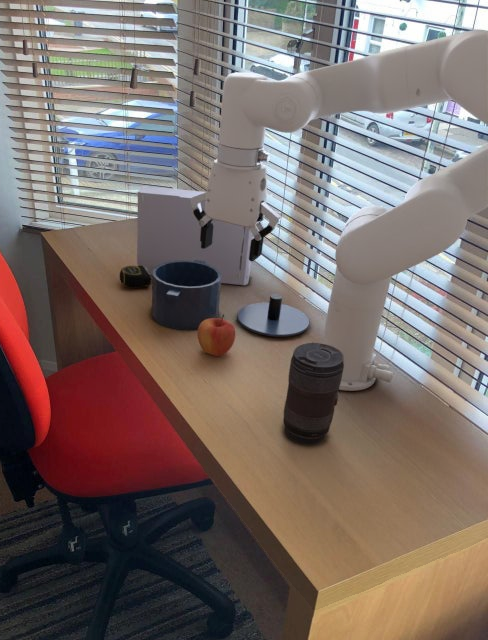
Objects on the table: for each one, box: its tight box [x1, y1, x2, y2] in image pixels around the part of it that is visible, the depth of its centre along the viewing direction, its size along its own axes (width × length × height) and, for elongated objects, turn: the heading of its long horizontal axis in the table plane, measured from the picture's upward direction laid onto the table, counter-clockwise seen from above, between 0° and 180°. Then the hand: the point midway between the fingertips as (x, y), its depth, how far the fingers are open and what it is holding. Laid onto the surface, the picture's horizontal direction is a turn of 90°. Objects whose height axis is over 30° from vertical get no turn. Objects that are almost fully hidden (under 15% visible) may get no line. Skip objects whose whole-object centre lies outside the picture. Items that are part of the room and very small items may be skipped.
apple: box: [196, 313, 236, 357], centre depth 126 cm, size 7×7×8 cm
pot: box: [151, 260, 222, 331], centre depth 139 cm, size 14×20×10 cm
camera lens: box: [283, 342, 344, 446], centre depth 103 cm, size 8×8×15 cm
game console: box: [136, 185, 254, 286], centre depth 154 cm, size 6×27×20 cm, turn 81°
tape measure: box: [119, 265, 152, 289], centre depth 152 cm, size 7×7×4 cm
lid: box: [237, 293, 310, 338], centre depth 139 cm, size 15×15×6 cm
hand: (229, 252), depth 119 cm, fingers open, 9 cm apart
